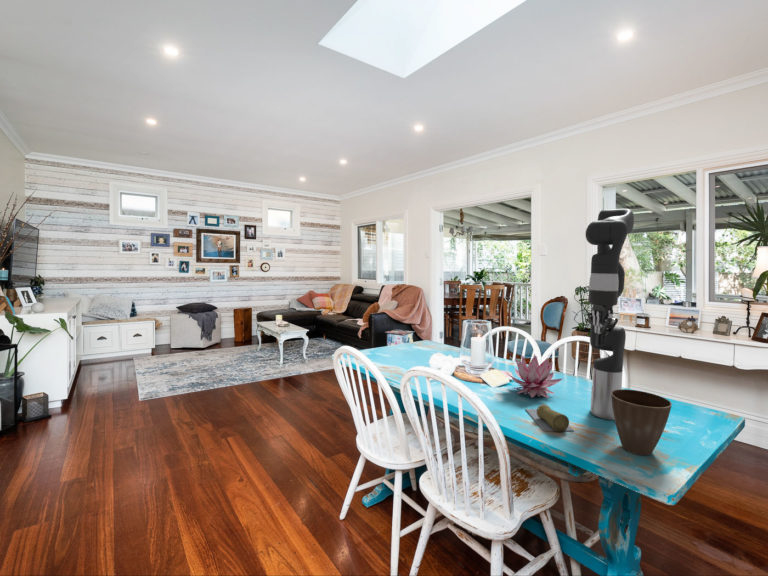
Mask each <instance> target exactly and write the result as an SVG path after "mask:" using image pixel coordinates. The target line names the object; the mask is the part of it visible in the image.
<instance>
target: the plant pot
mask: <svg viewBox="0 0 768 576" xmlns="http://www.w3.org/2000/svg"><path fill="white" fill-rule="evenodd" d="M611 398H612V407H613V414H614V419H615V420H614V423H615V427H616V431H617V435H618V438H619V441H620V443H621V446H622V448H623V449H624V450H625V451H627V452H629V453H631V454H635V455H639V456H649V455H650V456H651V455H652V453H653V452H654V450H655V448H656V447H657V445H658V444H659V441H660V440H661V437H662V435H663V433H664V431H665V428H666V425H667V424H668V419H669V417H670V413H671V410H672V405H673V404H672V402H671V401H670V400H669V399H667V398H665V397H663V396H661V395H658V394H655V393H651V392H646V391H642V390H635V389H626V388H625V389H620V390H614V391H612V392H611Z"/></svg>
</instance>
